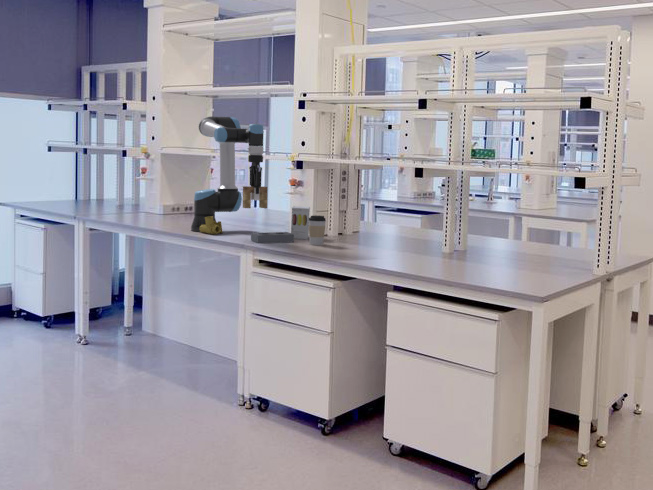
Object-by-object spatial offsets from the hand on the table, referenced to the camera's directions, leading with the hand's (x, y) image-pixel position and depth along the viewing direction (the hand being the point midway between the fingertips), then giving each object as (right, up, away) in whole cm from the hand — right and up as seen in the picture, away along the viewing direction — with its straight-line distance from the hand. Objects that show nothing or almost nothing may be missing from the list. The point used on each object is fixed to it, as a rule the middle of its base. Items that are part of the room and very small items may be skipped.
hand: (255, 199), depth 377 cm
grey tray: (+9, -21, +3) cm, 23 cm away
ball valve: (-26, -17, +27) cm, 41 cm away
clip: (0, -4, +1) cm, 4 cm away
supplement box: (+22, -20, +20) cm, 36 cm away
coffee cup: (+32, -23, -4) cm, 40 cm away
